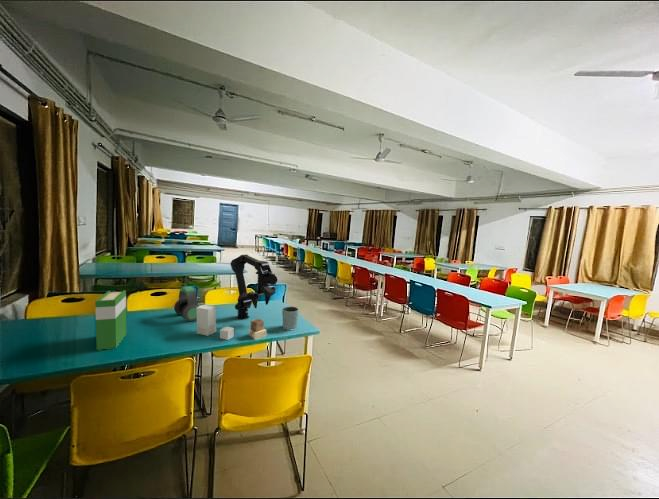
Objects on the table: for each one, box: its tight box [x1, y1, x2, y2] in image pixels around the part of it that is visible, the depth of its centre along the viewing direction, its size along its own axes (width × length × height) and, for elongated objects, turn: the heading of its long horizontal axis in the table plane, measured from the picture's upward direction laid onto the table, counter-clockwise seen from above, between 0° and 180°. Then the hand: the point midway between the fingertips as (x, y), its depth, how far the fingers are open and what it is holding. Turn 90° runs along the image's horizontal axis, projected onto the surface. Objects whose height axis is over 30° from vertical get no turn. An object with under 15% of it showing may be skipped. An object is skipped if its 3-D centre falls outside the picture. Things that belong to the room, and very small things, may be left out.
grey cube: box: [219, 326, 235, 341], centre depth 149 cm, size 5×5×5 cm
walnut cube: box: [250, 318, 265, 332], centre depth 153 cm, size 5×5×5 cm
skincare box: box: [196, 304, 217, 337], centre depth 152 cm, size 8×7×16 cm
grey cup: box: [281, 306, 299, 331], centre depth 167 cm, size 10×10×12 cm
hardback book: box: [94, 289, 127, 351], centre depth 135 cm, size 18×7×24 cm, turn 24°
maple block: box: [248, 327, 267, 340], centre depth 153 cm, size 7×7×4 cm
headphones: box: [173, 286, 200, 322], centre depth 172 cm, size 19×11×20 cm, turn 49°
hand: (261, 306), depth 167 cm, fingers open, 9 cm apart
